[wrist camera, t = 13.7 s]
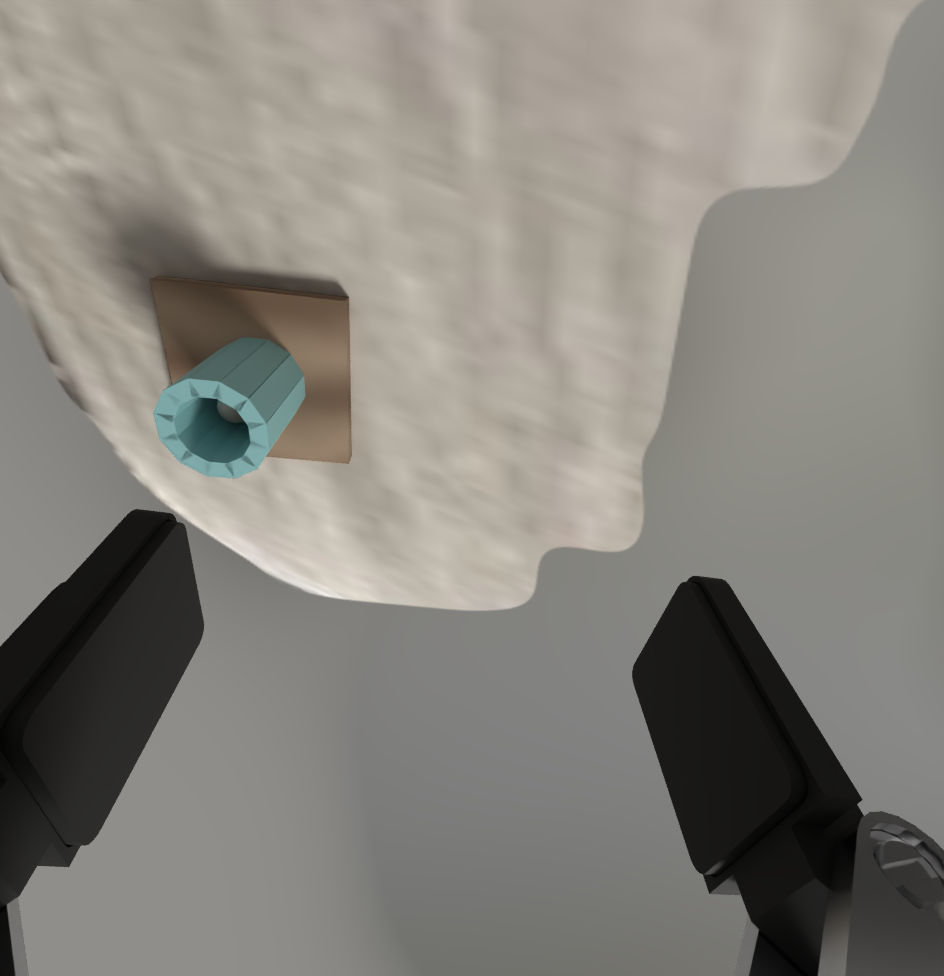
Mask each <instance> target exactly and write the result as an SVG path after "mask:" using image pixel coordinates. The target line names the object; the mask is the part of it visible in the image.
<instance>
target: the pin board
mask: <svg viewBox="0 0 944 976" xmlns="http://www.w3.org/2000/svg"><path fill="white" fill-rule="evenodd" d="M150 283H151V288H152V292H153V297H154V301H155V306H156V311H157V315H158V320H159V325H160V329H161V334H162V339H163V343H164V348H165V353H166V357H167V362H168V366H169V371H170V376H171V380H172V384H173V383H174V382H175V381H177V380H178V379H180V378H181V377H182V376H184V375H185V374H186V373H188V372H189V371H191V370H192V369H193V368H195V367H196V366H197V365H199V364H200V363H202V362H203V361H204V360H206V359H207V358H208V357H210V356H211V355H213V354H214V353H215V352H217V351H218V350H219V349H221V348H222V347H224V346H226V345H228V344H230V343H232V342H234V341H236V340H238V339H240V338H242V337H250V338H259V339H268V340H270V341H272V342H273V343H275V344H276V345H278V346H279V347H281V348H283V349H284V350H286V351H287V352H289V353H290V354H291V355H292V356H293V358H294V360H295V361H296V363H297V364H298V366H299V367H300V369H301V371H302V372H303V374H304V381H305V398H304V400H303V402H302V403H301V405H300V407H299V408H298V410H297V412H296V413H295V415H294V416H293V418H292V419H291V421H290V422H289V423H288V425H287V426H286V428H285V429H284V431H283V432H282V434H281V435H280V437H279V438H278V440H277V441H276V442H275V444H274V445H273V447H272V448H271V450H270V451H269V453H268V454H267V456H266V457H277V458H288V459H300V460H311V461H323V462H335V463H346V464H349V462H350V459H351V456H352V453H351V391H350V330H349V297H340V296H331V295H323V294H314V293H305V292H296V291H287V290H278V289H270V288H261V287H252V286H243V285H234V284H226V283H217V282H208V281H199V280H190V279H181V278H173V277H164V276H158V277H155V278H152V279H150ZM217 409H218V412H219V414H220V415H221V417H222V418H224V419H225V420H226V421H228V422H232V423H241V422H244V420H243V418H242V417H241V416H240V414H239V413H238V412H237V410H236V409H234V408H232V407H230V406H229V405H227V404H225V403H223V402H222V401H220V400H218V402H217Z"/></svg>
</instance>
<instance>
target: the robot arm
mask: <svg viewBox="0 0 944 976" xmlns="http://www.w3.org/2000/svg"><path fill="white" fill-rule="evenodd" d="M203 631H204V621H203V616H202V610H201V605H200V600H199V595H198V590H197V584H196V579H195V574H194V569H193V564H192V558H191V553H190V548H189V542H188V537H187V532H186V528H185V525H184V524H183V523H179V522H177V521H176V518H175V516H174V515H173V514H171V513H165V512H155V511H148V510H139V509H136V510H133V511H131V512H130V513H129V514H127V516H126V517H125V518H124V519H123V520H122V521H121V522H120V523H119V524H118V526H116V528H115V529H114V530H113V531H112V532H111V533H110V534H109V535H108V536H107V537H106V538H105V540H104V541H103V542H102V543H101V544H100V545H99V546H98V547H97V548H96V549H95V550H94V552H93V553H92V554H91V555H90V556H89V557H88V558H87V559H86V561H84V562H83V564H82V565H81V566H80V567H79V568H78V569H77V570H76V571H75V572H74V573H73V574H72V575H71V577H70V578H69V579H68V580H67V581H66V582H63V583H61V584H60V585H59V586H57V587H56V588H55V589H54V590H53V591H52V592H51V593H50V594H49V595H48V596H47V597H46V598H45V599H44V600H43V601H42V602H41V603H40V604H39V606H38V607H37V608H36V609H35V610H34V611H33V612H32V613H31V614H30V615H29V616H28V617H27V618H26V620H25V621H24V622H23V623H22V624H21V625H20V626H19V627H18V628H17V629H16V630H15V631H14V632H13V633H12V635H11V636H10V637H9V638H8V639H7V640H6V641H5V642H4V643H3V644H2V646H0V976H29V974H28V966H27V959H26V952H25V945H24V937H23V931H22V923H21V916H20V909H19V901H18V897H19V895H20V894H21V892H22V891H23V889H24V887H25V885H26V884H27V882H28V880H29V878H30V877H31V875H32V874H33V872H34V870H35V868H36V867H37V866H56V867H69V866H70V864H71V862H72V860H73V859H74V857H75V855H76V853H77V851H78V849H79V848H80V846H81V845H88V844H90V843H91V842H92V841H93V840H94V838H95V837H96V836H97V835H98V833H99V831H100V830H101V828H102V826H103V824H104V822H105V820H106V818H107V817H108V815H109V813H110V811H111V809H112V807H113V805H114V804H115V802H116V799H117V798H118V796H119V794H120V792H121V790H122V788H123V786H124V785H125V783H126V781H127V779H128V777H129V775H130V773H131V771H132V770H133V768H134V766H135V764H136V762H137V760H138V758H139V756H140V755H141V753H142V751H143V749H144V747H145V745H146V743H147V741H148V739H149V738H150V736H151V734H152V732H153V730H154V728H155V726H156V724H157V722H158V721H159V719H160V717H161V715H162V713H163V711H164V709H165V707H166V706H167V704H168V702H169V700H170V698H171V696H172V694H173V692H174V691H175V689H176V687H177V685H178V683H179V681H180V679H181V677H182V675H183V674H184V672H185V670H186V668H187V666H188V664H189V662H190V660H191V659H192V657H193V655H194V653H195V651H196V649H197V647H198V645H199V643H200V641H201V638H202V635H203ZM632 678H633V683H634V686H635V690H636V693H637V696H638V699H639V702H640V705H641V708H642V711H643V714H644V717H645V720H646V723H647V726H648V730H649V732H650V736H651V739H652V742H653V745H654V748H655V751H656V754H657V757H658V760H659V763H660V766H661V769H662V773H663V776H664V778H665V782H666V784H667V788H668V791H669V794H670V797H671V800H672V803H673V806H674V809H675V812H676V815H677V818H678V821H679V825H680V828H681V831H682V834H683V837H684V840H685V843H686V846H687V849H688V852H689V855H690V858H691V861H692V863H693V865H694V867H695V868H696V870H697V871H698V872H699V873H701V874H703V876H704V879H705V882H706V885H707V888H708V891H709V894H725V895H740V894H741V896H742V899H743V901H744V904H745V907H746V909H747V912H748V916H747V921H746V925H745V929H744V933H743V938H742V942H741V946H740V950H739V954H738V958H737V963H736V967H735V971H734V975H733V976H944V850H943V849H942V848H941V847H940V846H939V845H938V844H937V843H936V842H935V841H934V840H933V839H932V838H931V837H929V836H928V835H927V834H925V833H924V832H923V831H921V830H920V829H919V828H917V827H916V826H915V825H913V824H911V823H910V822H908V821H906V820H904V819H902V818H900V817H899V816H896V815H892V814H889V813H886V812H883V811H880V812H869V813H868V814H866V815H865V816H864V815H863V814H862V812H861V810H860V809H859V807H858V805H857V804H858V803H859V802H860V801H862V798H861V796H860V795H859V793H858V792H857V790H856V788H855V787H854V785H853V783H852V782H851V780H850V779H849V777H848V775H847V774H846V772H845V771H844V769H843V767H842V766H841V764H840V763H839V761H838V759H837V758H836V756H835V755H834V753H833V751H832V750H831V748H830V747H829V745H828V743H827V742H826V740H825V738H824V737H823V735H822V734H821V732H820V730H819V729H818V727H817V726H816V724H815V722H814V721H813V719H812V718H811V716H810V714H809V713H808V711H807V709H806V708H805V706H804V705H803V703H802V701H801V700H800V698H799V697H798V695H797V693H796V692H795V690H794V689H793V687H792V685H791V684H790V682H789V681H788V679H787V677H786V676H785V674H784V672H783V671H782V669H781V668H780V666H779V664H778V663H777V661H776V660H775V658H774V656H773V655H772V653H771V651H770V650H769V648H768V647H767V645H766V643H765V642H764V640H763V639H762V637H761V635H760V634H759V632H758V631H757V629H756V627H755V626H754V624H753V622H752V621H751V619H750V618H749V616H748V614H747V613H746V611H745V610H744V608H743V606H742V605H741V603H740V602H739V600H738V599H737V597H736V595H735V594H734V592H733V590H732V589H731V587H730V586H729V584H728V583H727V582H726V581H725V580H723V579H717V578H709V577H700V576H692V577H691V578H689V579H688V581H687V582H683V583H681V584H680V585H679V586H678V588H677V590H676V592H675V594H674V595H673V597H672V599H671V600H670V602H669V604H668V606H667V608H666V609H665V611H664V613H663V614H662V616H661V618H660V620H659V621H658V623H657V625H656V627H655V628H654V630H653V632H652V634H651V636H650V637H649V639H648V641H647V643H646V644H645V646H644V648H643V650H642V651H641V653H640V655H639V657H638V658H637V660H636V662H635V664H634V666H633V671H632Z"/></svg>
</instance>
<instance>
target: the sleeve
mask: <svg viewBox="0 0 944 976" xmlns="http://www.w3.org/2000/svg"><path fill="white" fill-rule="evenodd" d="M304 398H305V381H304V374H303V372H302V371H301V369H300V367H299V366H298V364H297V363H296V361H295V360H294V358H293V356H292V355H291V354H290V353H289V352H287V351H286V350H284V349H283V348H281V347H279V346H278V345H276V344H275V343H273V342H272V341H270V340H268V339H259V338H250V337H242V338H240V339H238V340H236V341H234V342H232V343H230V344H228V345H226V346H224V347H222V348H221V349H219V350H218V351H217V352H215V353H214V354H213V355H211V356H210V357H208V358H207V359H206V360H204V361H203V362H202V363H200V364H199V365H197V366H196V367H195V368H193V369H192V370H191V371H189V372H188V373H186V374H185V375H184V376H182V377H181V378H180V379H178V380H177V381H175V382H174V383H173V384H171V385H170V386H168V387H167V388H166V389H164V390H163V392H162V394H161V396H160V399H159V401H158V403H157V405H156V408H155V410H154V412H153V414H154V418H155V422H156V427H157V431H158V435H159V439H160V440H161V442H162V443H163V444H164V445H165V446H166V447H167V448H168V450H169V451H170V452H171V453H172V454H173V455H174V457H175V458H176V459H177V460H178V461H179V462H180V463H182V464H184V465H186V466H188V467H190V468H192V469H194V470H196V471H198V472H200V473H202V474H204V475H205V476H211V477H223V478H237V477H239V476H242V475H244V474H247V473H249V472H251V471H254V470H256V469H257V468H258V467H259V466H260V464H261V463H262V461H263V460H264V459H265V457H266V456H267V454H268V453H269V451H270V450H271V448H272V447H273V445H274V444H275V442H276V441H277V440H278V438H279V437H280V435H281V434H282V432H283V431H284V429H285V428H286V426H287V425H288V423H289V422H290V421H291V419H292V418H293V416H294V415H295V413H296V412H297V410H298V408H299V407H300V405H301V403H302V402H303V400H304ZM218 400H220V401H222V402H223V403H225V404H227V405H229V406H230V407H232V408H234V409H236V410H237V412H238V413H239V414H240V416H241V417H242V418H243V420H244V422H241V423H232V422H228V421H226V420H225V419H224V418H222V417H221V415H220V414H219V412H218V409H217V402H218Z"/></svg>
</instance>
